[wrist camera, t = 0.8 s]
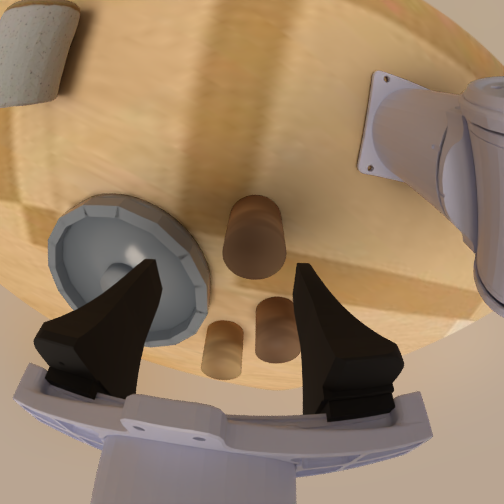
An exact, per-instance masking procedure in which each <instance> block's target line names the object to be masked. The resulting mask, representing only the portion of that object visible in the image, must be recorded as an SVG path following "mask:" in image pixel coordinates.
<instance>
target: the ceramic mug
mask: <svg viewBox="0 0 504 504" xmlns="http://www.w3.org/2000/svg"><path fill="white" fill-rule="evenodd" d="M79 18H80V9H79V7H78V6H77V5H76V4H75V3H73V2H70V1H67V0H21V1H18V2H16V3H14V4H12V5H11V6H9V7H8V8H7V9H6V11H5V12H4V14H3V15H2V17H1V19H0V108H4V107H12V106H24V105H31V104H38V103H44V102H48V101H52V100H54V99H56V97H57V94H58V90H59V85H60V80H61V77H62V73H63V69H64V65H65V62H66V58H67V55H68V51H69V48H70V45H71V42H72V39H73V37H74V34H75V31H76V29H77V26H78V22H79Z"/></svg>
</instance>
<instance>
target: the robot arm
mask: <svg viewBox="0 0 504 504" xmlns="http://www.w3.org/2000/svg"><path fill="white" fill-rule="evenodd" d="M384 76H386V77H387V79H388V81H387V82H385V81H384ZM369 165H372V168H371V170H368V169H367V168H368V166H369ZM357 168H358V170H359V171H360V172H361V173H364V174H369V175H374V176H379V177H383V178H388V179H392V180H397V181H401V182H405V183H407V184H408V185H409V186H410V187H412V188H413V189H414V190H415V191H417V192H418V193H419V194H420V195H421V196H423V197H424V198H425V199H426V200H427V201H428V202H430V203H431V204H432V205H433V206H434V207H435V208H436V209H437V210H439V211H440V212H441V213H442V214H443V215H444V216H445V217H446V218H447V219H448V220H449V221H451V222H452V223H453V224H454V225H455V226H456V227H457V228H458V229H459V230H460V231H461V233H462V235H463V241H464V243H465V244H466V245H467V246H468V247H469V248H470V249H471V250H472V251H473V252H474V253H476V254H475V261H474V271H473V273H474V280H475V284H476V287H477V290H478V292H479V294H480V296H481V297H482V299H483V300H484V302H485V303H486V304H487V305H488V306H489V307H490V308H491V309H492V310H493V311H494V312H496V313H497V314H498V315H500V316H502V317H504V76H498V77H488V78H482V79H478V80H475V81H472V82H470V83H469V84H468V85H467V87H466V89H465V90H464V92H462V94H461V95H457V94H451V93H445V92H438V91H431V90H429V89H427V88H425V87H422V86H420V85H418V84H415V83H413V82H410V81H408V80H405V79H403V78H400V77H397V76H394V75H392V74H389V73H386V72H383V71H375V72H374V73H373V75H372V82H371V90H370V97H369V103H368V110H367V116H366V122H365V127H364V133H363V138H362V143H361V148H360V153H359V158H358V163H357ZM162 290H163V288H162V284H161V280H160V276H159V272H158V267H157V263H156V259H144V260H143V261H142V262H140V263H139V264H138V265H137V266H135V267H134V268H133V269H132V270H131V271H130V272H128V273H127V274H126V275H125V276H124V277H123V278H121V279H120V280H119V281H118V282H117V283H115V284H114V285H113V286H111V287H110V288H109V289H108V290H106V291H105V292H104V293H102V294H101V295H99V296H98V297H96V298H95V299H93V300H92V301H90V302H88V303H87V304H85V305H83V306H81V307H80V308H78V309H76V310H74V311H72V312H70V313H68V314H65V315H63V316H61V317H58V318H55V319H53V320H50V321H47V322H44V323H43V325H42V327H41V328H40V330H39V332H38V333H37V335H36V337H35V339H34V345H35V348H36V349H37V351H38V352H39V354H40V355H41V356H42V358H43V359H44V360H45V361H46V362H47V364H48V365H49V366H50V367H49V369H48V371H47V370H46V369H44V368H42V367H40V366H37V365H35V364H32V363H29V365H28V366H27V369H26V370H25V373H24V374H23V377H22V379H21V381H20V383H19V385H18V387H17V390H16V392H15V394H14V396H13V400H15V402H17V403H18V404H19V405H20V406H21V407H23V408H24V409H25V410H26V411H27V412H28V413H30V414H31V415H32V416H33V417H35V418H36V419H37V420H38V421H40V422H42V423H44V424H46V425H48V426H50V427H52V428H54V429H56V430H58V431H60V432H62V433H64V434H66V435H68V436H70V437H72V438H74V439H76V440H79V441H81V442H83V443H86V444H88V445H90V446H92V447H95V448H97V449H100V450H102V453H101V457H100V461H99V465H98V469H97V474H96V478H95V484H94V488H93V493H92V498H91V504H296V477H304V476H313V475H319V474H326V473H331V472H337V471H342V470H347V469H352V468H356V467H360V466H364V465H368V464H373V463H376V462H380V461H384V460H387V459H391V458H395V457H398V456H402V455H405V454H407V453H409V452H410V451H412V450H414V449H415V448H417V447H419V446H420V445H422V444H423V443H425V442H427V441H428V440H430V439H431V438H432V437H433V434H432V430H431V427H430V423H429V419H428V416H427V412H426V409H425V406H424V402H423V399H422V396H421V393H420V392H419V391H417V392H413V393H409V394H404V395H400V396H398V397H395V398H394V399H393V396H392V393H393V391H394V387H393V384H392V383H393V382H394V380H395V379H396V378H397V377H398V375H399V374H400V373H401V371H402V369H403V367H404V361H403V358H402V355H401V353H400V350H399V348H398V346H397V344H395V343H393V342H392V341H390V340H388V339H386V338H384V337H382V336H381V335H379V334H377V333H376V332H374V331H373V330H371V329H370V328H368V327H367V326H366V325H364V324H363V323H362V322H360V321H359V320H358V319H357V318H355V317H354V316H353V315H352V314H351V313H350V312H349V311H347V310H346V309H345V308H344V307H343V306H342V305H341V304H340V303H339V302H338V300H337V299H336V298H335V297H334V296H333V295H332V293H331V292H330V291H329V290H328V288H327V287H326V286H325V285H324V283H323V282H322V281H321V279H320V278H319V276H318V275H317V274H316V272H315V271H314V269H313V268H312V266H311V265H310V264H309V263H297V267H296V274H295V281H294V288H293V307H294V315H295V321H296V326H297V331H298V337H299V342H300V349H301V359H302V380H303V415H293V416H247V415H226V414H224V413H223V412H222V411H221V410H220V409H218V408H216V407H214V406H211V405H207V404H202V403H195V402H186V401H179V400H172V399H165V398H159V397H153V396H148V395H142V394H136V386H137V379H138V372H139V366H140V361H141V357H142V352H143V348H144V344H145V341H146V338H147V335H148V332H149V330H150V327H151V324H152V322H153V319H154V317H155V314H156V311H157V309H158V306H159V303H160V299H161V294H162Z"/></svg>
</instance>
